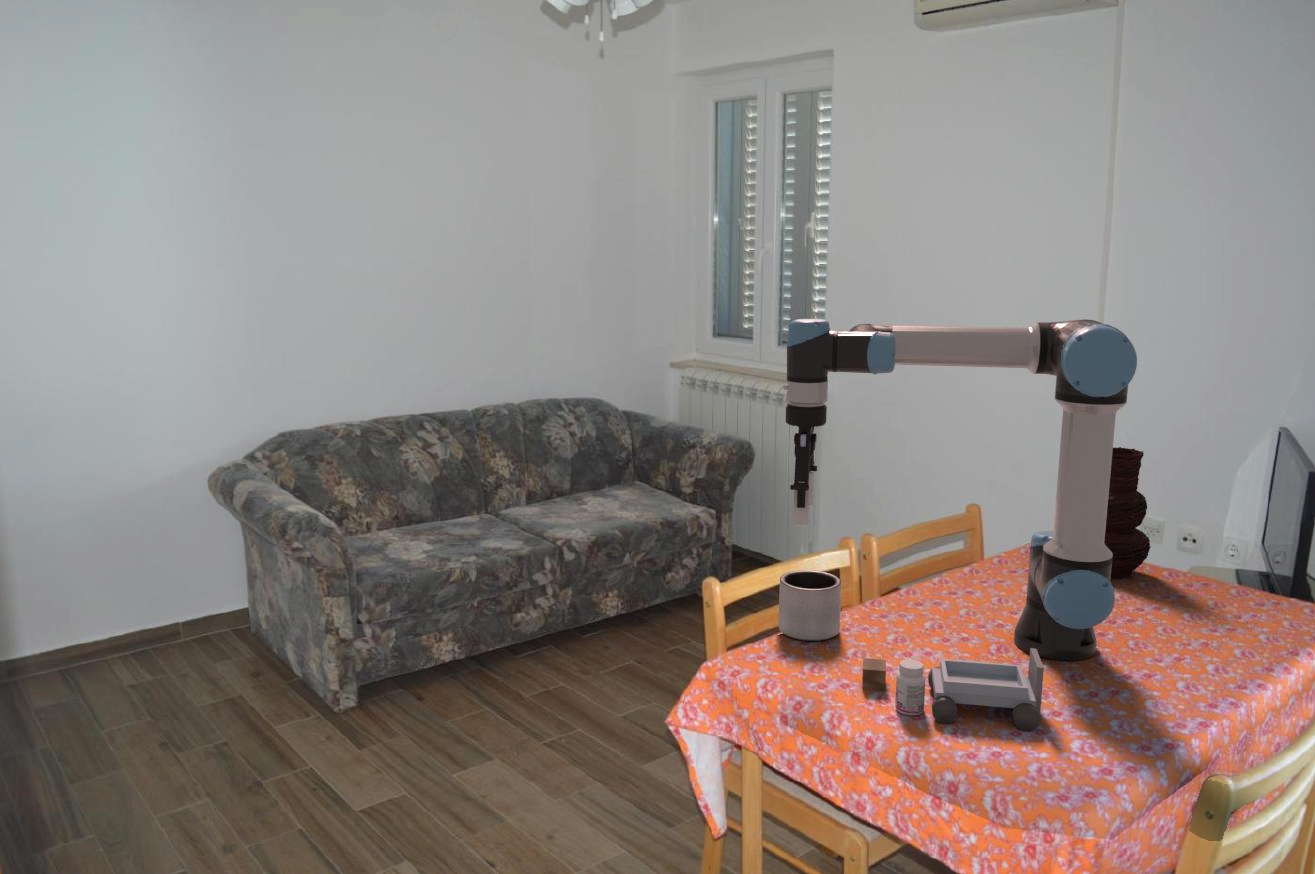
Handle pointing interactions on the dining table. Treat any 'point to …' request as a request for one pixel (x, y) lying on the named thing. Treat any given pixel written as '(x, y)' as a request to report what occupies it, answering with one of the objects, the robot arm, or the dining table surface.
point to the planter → (809, 605)
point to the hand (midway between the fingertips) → (803, 514)
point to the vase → (1125, 514)
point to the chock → (874, 674)
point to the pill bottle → (910, 687)
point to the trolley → (988, 688)
